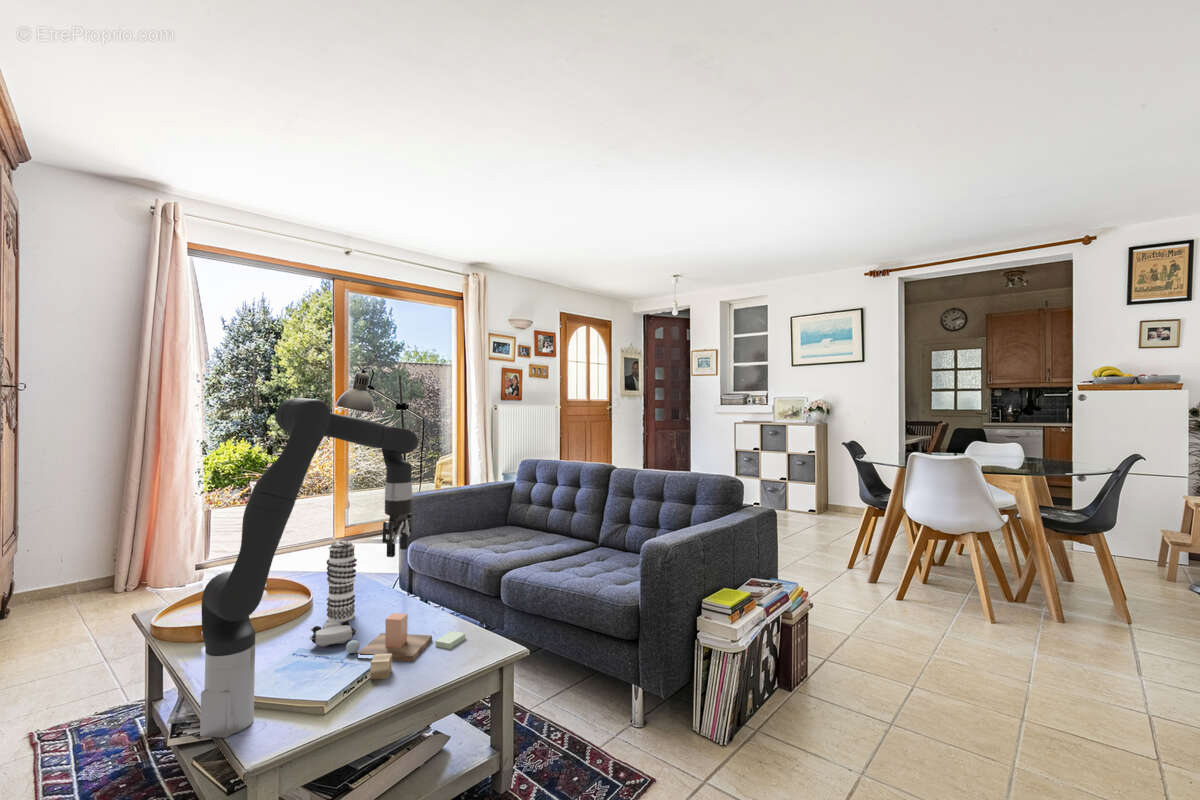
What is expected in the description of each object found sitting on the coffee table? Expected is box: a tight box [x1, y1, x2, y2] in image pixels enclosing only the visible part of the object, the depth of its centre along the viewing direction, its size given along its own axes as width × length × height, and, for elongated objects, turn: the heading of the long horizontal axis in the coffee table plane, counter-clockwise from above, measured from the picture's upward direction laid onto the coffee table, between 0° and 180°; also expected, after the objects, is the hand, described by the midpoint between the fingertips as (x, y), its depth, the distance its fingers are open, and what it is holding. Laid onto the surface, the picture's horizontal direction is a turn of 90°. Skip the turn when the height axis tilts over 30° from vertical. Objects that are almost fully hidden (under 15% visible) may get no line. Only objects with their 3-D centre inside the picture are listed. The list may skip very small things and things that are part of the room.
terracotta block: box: [384, 612, 408, 648], centre depth 162 cm, size 4×4×8 cm
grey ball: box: [345, 639, 361, 654], centre depth 158 cm, size 4×4×4 cm
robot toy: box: [309, 620, 358, 648], centre depth 167 cm, size 12×4×15 cm
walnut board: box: [356, 632, 433, 662], centre depth 161 cm, size 14×16×2 cm
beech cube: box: [369, 654, 393, 680], centre depth 146 cm, size 4×4×4 cm
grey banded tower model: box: [326, 540, 358, 623], centre depth 185 cm, size 9×9×25 cm
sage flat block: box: [435, 630, 467, 650], centre depth 167 cm, size 8×5×2 cm, turn 160°
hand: (397, 552), depth 162 cm, fingers open, 8 cm apart
